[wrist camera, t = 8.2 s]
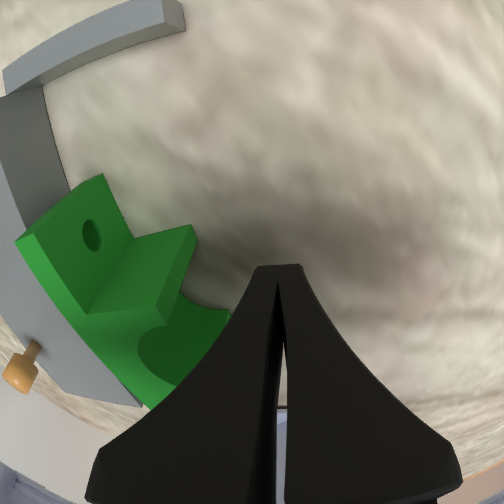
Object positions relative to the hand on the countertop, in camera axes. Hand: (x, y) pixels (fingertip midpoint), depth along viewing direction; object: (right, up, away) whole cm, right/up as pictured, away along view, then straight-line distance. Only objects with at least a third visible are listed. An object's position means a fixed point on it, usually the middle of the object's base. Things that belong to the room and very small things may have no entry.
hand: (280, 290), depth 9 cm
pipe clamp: (-4, 0, +4) cm, 6 cm away
